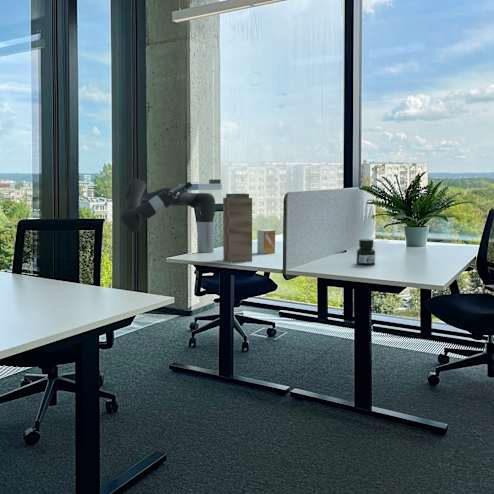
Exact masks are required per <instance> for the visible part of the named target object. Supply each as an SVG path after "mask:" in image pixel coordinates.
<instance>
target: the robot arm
mask: <svg viewBox="0 0 494 494" xmlns="http://www.w3.org/2000/svg"><path fill="white" fill-rule="evenodd" d="M184 184H186V185H184V186H182V187H181V188H178V186H177V187H174V188H173V187H172V188H171V187H163V188H160V189H157V190H154V191H152V192H151V191H150V192H146V191H147V184H146V182H145V181H144V180H142V179H140V178H132V179H131V180H130V181H129V182H128V184H127V188H126V190H125V193H124V196H125V197H124V198H125V199H127V202H126V205H125V209H124V211H123V212H121V215H120V220H121V222H122V223H123V225H124V226H125V228H126V229H127V231H128V232H131V233H133V232H137V231H139V229H140V228H141V225H142V219H141V216H142V218H144V219H145V220H148V219H150V218H151V217H153V216H155V215H156V214H159V213H161V212H163V211H164V210H165V209H167V208H169V207H171V206H174V207H175V206H178V207H181V206H182V207H183V206H187V207H193V208H196V209H199V210H200V214H199V215H198V216H196V217H197V218H196V229H197V230H196V234H197V235H196V237H197V238H196V239H197V241H196V242H197V247H196V249H197V250H196V251H197V252H198V253H212V252H215V251H214V244H215V243H214V241H215V240H214V219H215V214H216V213H215V212H216V201H215V200H216V199H215V196H214V195H213V194H211V193H209V192H197V193H196V192H187V191H188V190H187V189H188V188H190V187H192V184H193V183H192V182H189V181H188V182H186V183H184ZM181 189H182V190H181ZM142 203H143V204H142Z"/></svg>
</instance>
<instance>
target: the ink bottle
mask: <svg viewBox="0 0 494 494" xmlns="http://www.w3.org/2000/svg"><path fill="white" fill-rule="evenodd" d="M356 264H357V265H361V266H373V265H375V264H376V250H374V239H371V238H361V239H358V249H357V250H356Z"/></svg>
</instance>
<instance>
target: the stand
mask: <svg viewBox="0 0 494 494" xmlns="http://www.w3.org/2000/svg"><path fill="white" fill-rule="evenodd" d="M222 219H223V220H222V221H223V222H222V227H223V228H222V229H223V231H222V233H223V236H222V237H223V238H222V239H223V241H222V242H223V243H222V246H223V247H222V249H223V251H222V253H223V258H222V259H223V260H224V261H225V262H228V263H230V262H232V263H244V262H245V261H248V262H253V197H250V194H249V193H226V194H225V197H222Z"/></svg>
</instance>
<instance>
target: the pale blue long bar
mask: <svg viewBox="0 0 494 494" xmlns="http://www.w3.org/2000/svg"><path fill="white" fill-rule="evenodd" d="M191 184H192V187H190V188H188V189H187V190H186V191H212V190H213V191H217V190H218V191H219V190H222V189H223V188H222V183H221V179H216V178H215V179H208V183H191ZM184 185H186V184H185V183H178V186H177V187H178V188H181V187H182V186H184ZM181 190H182V189H181Z"/></svg>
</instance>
